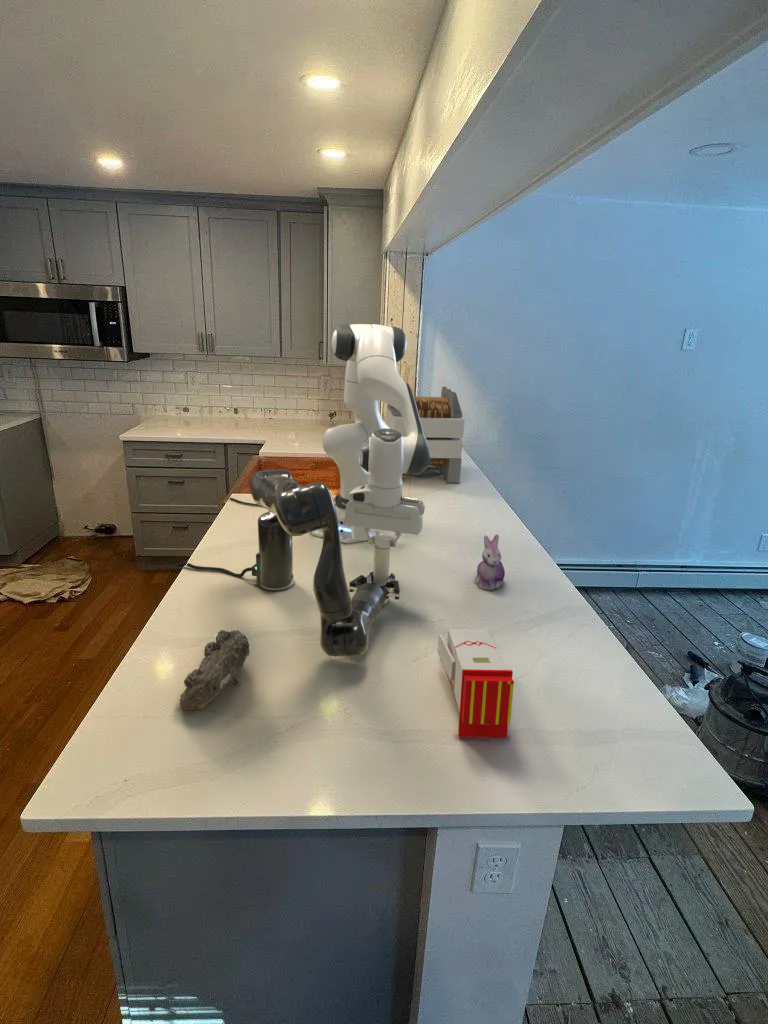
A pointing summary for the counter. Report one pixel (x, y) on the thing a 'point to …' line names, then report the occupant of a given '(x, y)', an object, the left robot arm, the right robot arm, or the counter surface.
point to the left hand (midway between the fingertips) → (383, 575)
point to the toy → (478, 682)
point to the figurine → (490, 565)
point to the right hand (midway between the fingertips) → (382, 544)
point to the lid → (382, 540)
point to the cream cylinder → (381, 565)
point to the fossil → (215, 669)
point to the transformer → (437, 430)
